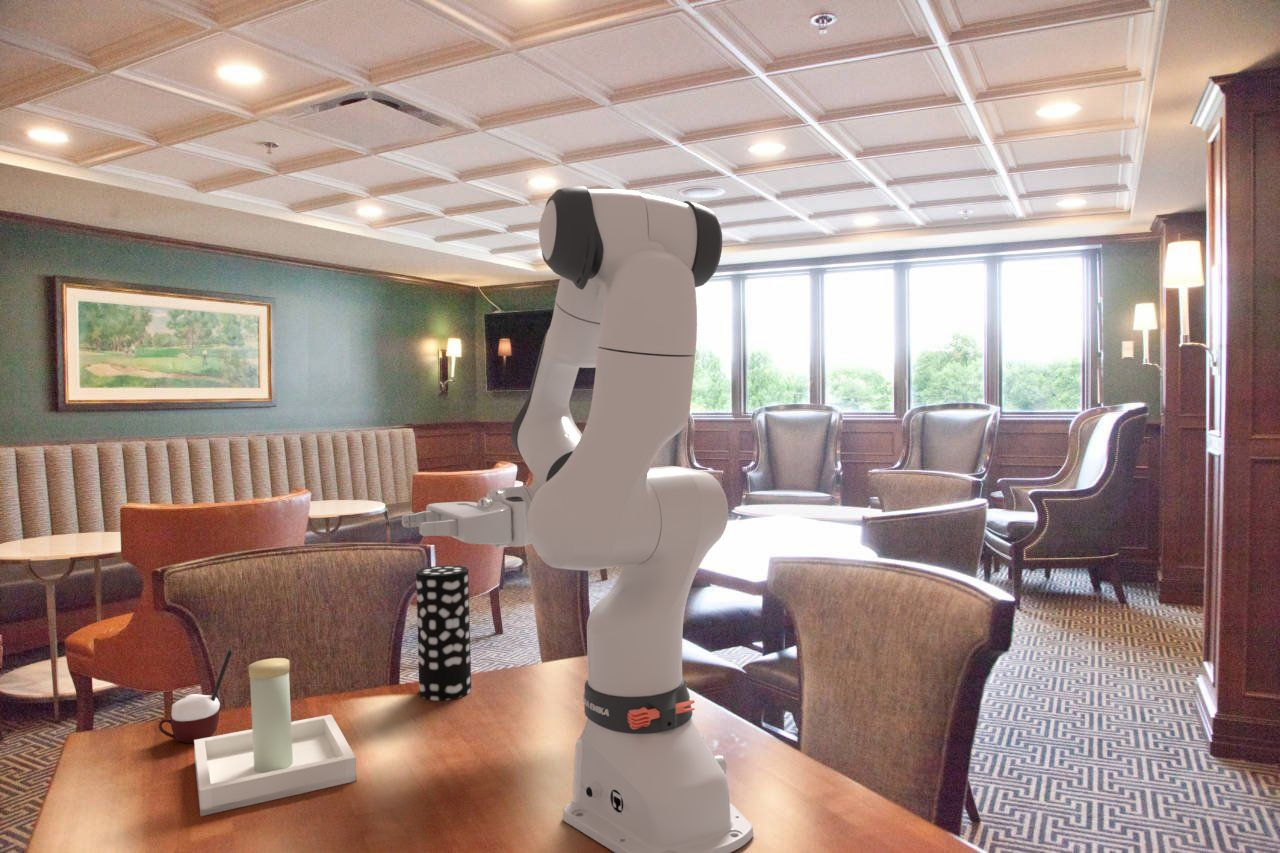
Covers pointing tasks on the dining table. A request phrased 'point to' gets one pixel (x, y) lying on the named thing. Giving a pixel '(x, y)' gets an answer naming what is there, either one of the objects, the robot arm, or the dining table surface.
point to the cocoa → (196, 714)
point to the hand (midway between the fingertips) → (411, 525)
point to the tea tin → (271, 714)
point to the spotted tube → (443, 632)
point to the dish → (237, 784)
